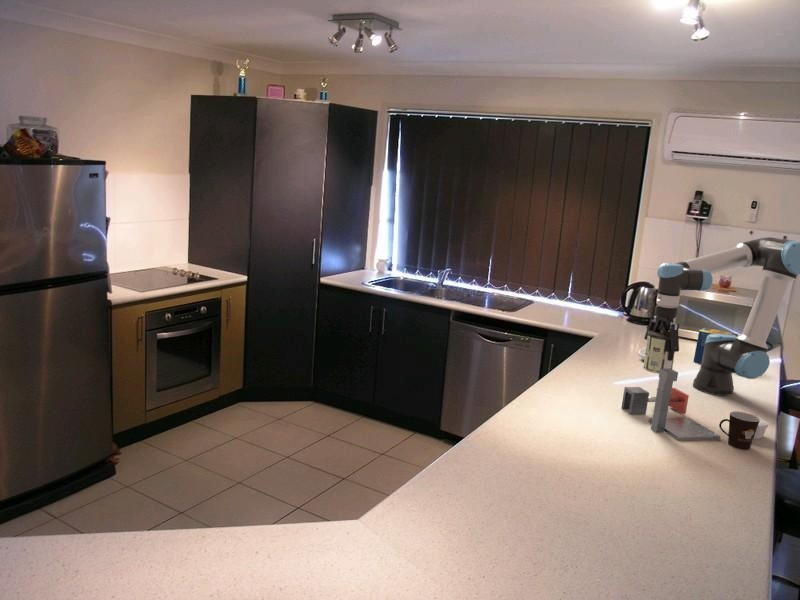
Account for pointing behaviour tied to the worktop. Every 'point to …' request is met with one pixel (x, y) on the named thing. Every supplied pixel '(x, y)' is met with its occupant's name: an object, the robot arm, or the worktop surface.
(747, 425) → the coffee mug
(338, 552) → the worktop surface
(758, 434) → the ramekin
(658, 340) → the coffee can
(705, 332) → the protein box
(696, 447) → the worktop surface
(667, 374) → the press
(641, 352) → the spoon rest
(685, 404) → the lever
